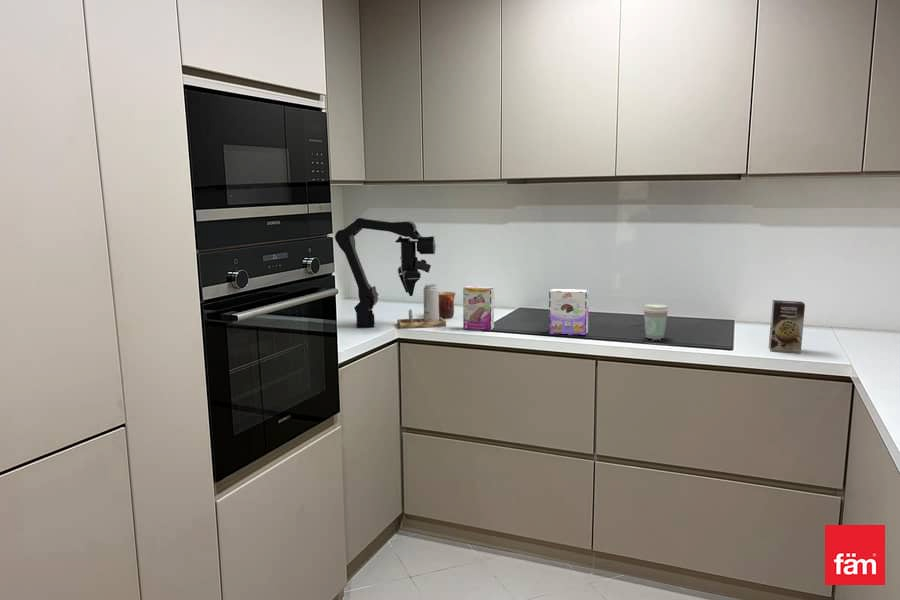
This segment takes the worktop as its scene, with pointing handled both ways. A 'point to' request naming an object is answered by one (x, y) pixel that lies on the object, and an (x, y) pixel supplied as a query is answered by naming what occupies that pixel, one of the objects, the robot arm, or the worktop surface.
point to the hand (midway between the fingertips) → (409, 294)
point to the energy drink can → (431, 303)
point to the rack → (420, 323)
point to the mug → (446, 304)
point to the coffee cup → (655, 320)
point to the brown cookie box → (786, 326)
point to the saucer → (410, 316)
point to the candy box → (568, 311)
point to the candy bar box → (478, 308)
